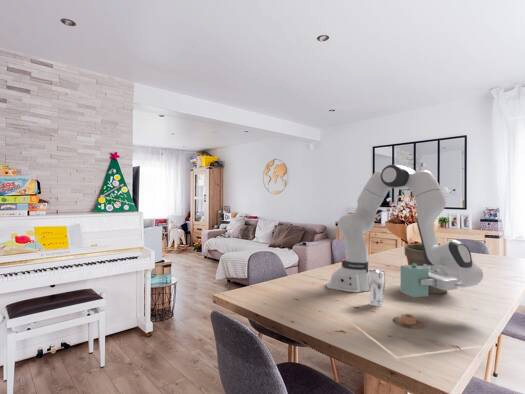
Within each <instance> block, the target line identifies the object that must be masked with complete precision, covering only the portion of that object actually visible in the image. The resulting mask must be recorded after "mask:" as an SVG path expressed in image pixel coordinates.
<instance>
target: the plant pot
mask: <svg viewBox="0 0 525 394" xmlns="http://www.w3.org/2000/svg"><path fill="white" fill-rule="evenodd" d="M439 245H440V244H438V246H439ZM404 256H405V257H406V259H407V263H408V264H407V265H412V263H414V264H417V265H418V266H423V265H424V264H426V263H425V261H424V257H423V246H422V243H408V244H405V245H404ZM447 292H448V290H441V289H439V288H436V287H433V286H430V285H428V294H437V295H438V294H439V295H440V294H441V295H442V294H446V293H447Z"/></svg>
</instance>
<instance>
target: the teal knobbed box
mask: <svg viewBox="0 0 525 394" xmlns="http://www.w3.org/2000/svg"><path fill="white" fill-rule="evenodd" d="M419 279H428V268H424V267H421V266H418V265H417V264H414V263H412V265H409V264H407V265H405V264H404V265H400V293H402V294H405V295H407V296H410V297H411V298H421V297H422V298H423V297H429V293H428V285H421V284H419Z"/></svg>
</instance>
